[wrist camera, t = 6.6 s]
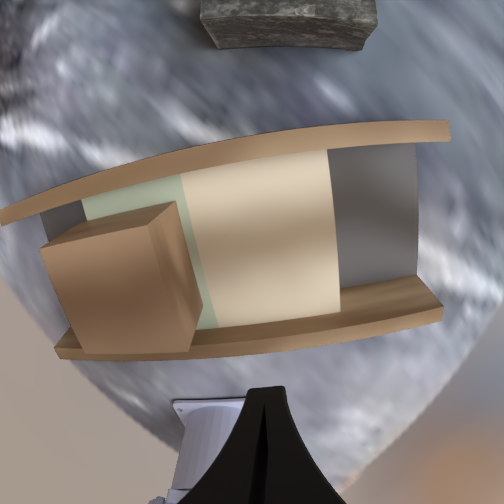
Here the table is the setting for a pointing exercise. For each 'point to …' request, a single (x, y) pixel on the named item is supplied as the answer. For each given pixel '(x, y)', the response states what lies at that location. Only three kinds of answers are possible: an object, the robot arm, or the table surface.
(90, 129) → the table surface
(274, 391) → the robot arm
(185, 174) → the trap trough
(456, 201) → the table surface
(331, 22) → the stone block
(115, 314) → the walnut block
